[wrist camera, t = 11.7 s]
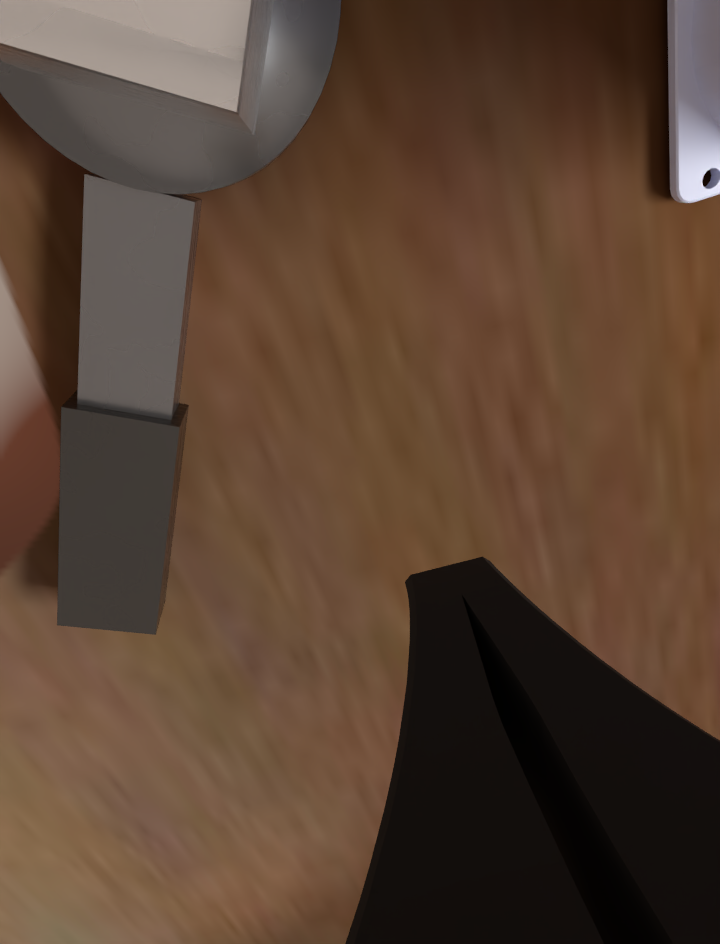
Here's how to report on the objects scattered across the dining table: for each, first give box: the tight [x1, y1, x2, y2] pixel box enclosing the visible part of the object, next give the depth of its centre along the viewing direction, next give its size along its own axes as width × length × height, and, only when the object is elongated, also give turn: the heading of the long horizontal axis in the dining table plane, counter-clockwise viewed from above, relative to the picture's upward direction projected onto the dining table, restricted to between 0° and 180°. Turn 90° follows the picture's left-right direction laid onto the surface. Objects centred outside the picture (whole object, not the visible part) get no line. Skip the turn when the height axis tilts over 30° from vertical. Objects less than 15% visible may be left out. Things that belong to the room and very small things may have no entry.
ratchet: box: [0, 0, 341, 635], centre depth 14 cm, size 22×8×5 cm, turn 166°
